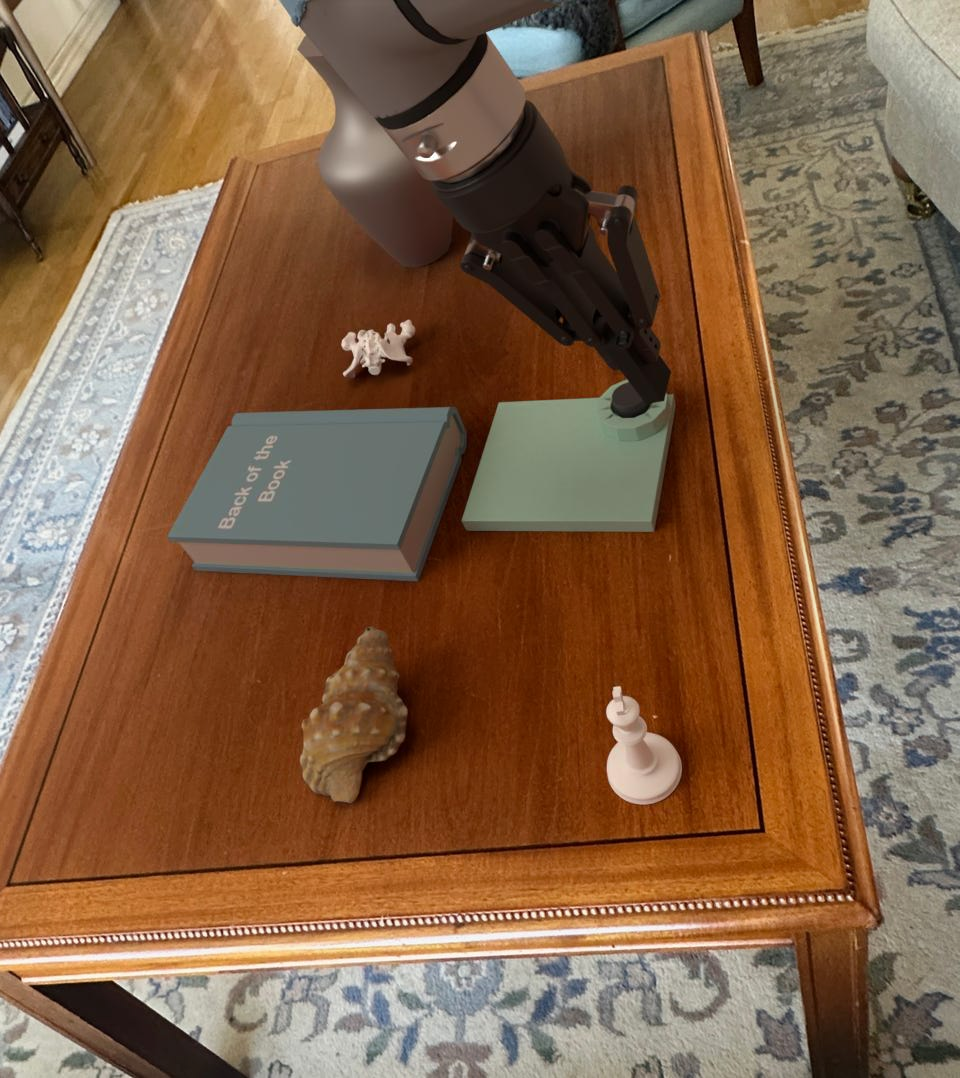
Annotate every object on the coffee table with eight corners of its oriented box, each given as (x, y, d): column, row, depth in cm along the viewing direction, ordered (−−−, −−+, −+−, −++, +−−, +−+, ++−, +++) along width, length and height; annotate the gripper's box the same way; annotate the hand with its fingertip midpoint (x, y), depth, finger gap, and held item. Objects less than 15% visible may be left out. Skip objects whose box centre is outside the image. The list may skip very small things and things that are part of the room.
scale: (676, 401, 85) (671, 376, 83) (654, 532, 77) (648, 507, 75) (503, 409, 91) (494, 385, 89) (466, 531, 83) (455, 508, 81)
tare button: (652, 392, 83) (649, 380, 82) (647, 417, 81) (644, 406, 80) (617, 394, 84) (614, 382, 83) (612, 419, 82) (609, 407, 81)
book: (195, 570, 90) (166, 536, 86) (262, 441, 99) (239, 406, 95) (418, 581, 81) (397, 544, 77) (469, 438, 90) (452, 399, 86)
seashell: (328, 731, 78) (313, 620, 74) (428, 737, 76) (418, 624, 73) (288, 806, 70) (269, 685, 66) (399, 814, 68) (386, 691, 64)
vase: (472, 280, 105) (389, 53, 87) (351, 298, 110) (249, 86, 92) (493, 202, 114) (422, -20, 96) (380, 222, 119) (292, 14, 100)
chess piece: (676, 730, 66) (652, 651, 58) (687, 799, 63) (664, 724, 55) (603, 741, 67) (571, 665, 60) (611, 810, 64) (578, 737, 56)
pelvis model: (410, 304, 99) (403, 342, 95) (423, 338, 102) (416, 377, 98) (337, 320, 101) (326, 358, 97) (352, 354, 104) (342, 392, 100)
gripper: (375, 216, 59) (572, 440, 74) (553, 150, 51) (733, 417, 66) (413, 131, 62) (595, 362, 78) (586, 56, 54) (751, 331, 70)
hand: (658, 387), depth 72 cm, fingers closed
